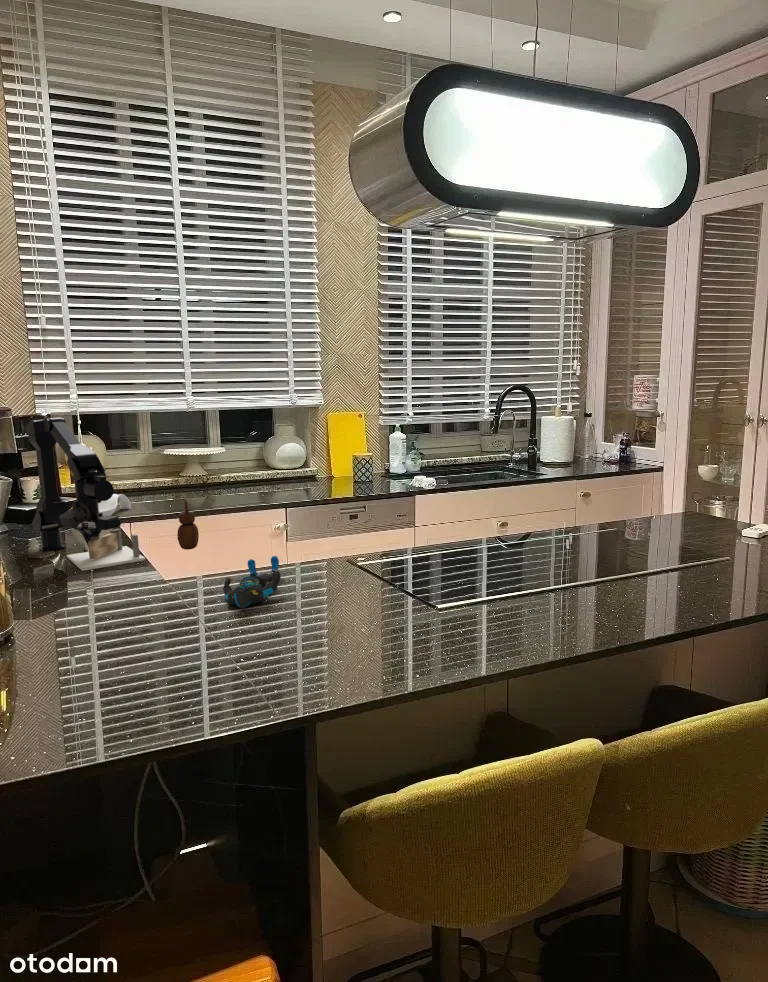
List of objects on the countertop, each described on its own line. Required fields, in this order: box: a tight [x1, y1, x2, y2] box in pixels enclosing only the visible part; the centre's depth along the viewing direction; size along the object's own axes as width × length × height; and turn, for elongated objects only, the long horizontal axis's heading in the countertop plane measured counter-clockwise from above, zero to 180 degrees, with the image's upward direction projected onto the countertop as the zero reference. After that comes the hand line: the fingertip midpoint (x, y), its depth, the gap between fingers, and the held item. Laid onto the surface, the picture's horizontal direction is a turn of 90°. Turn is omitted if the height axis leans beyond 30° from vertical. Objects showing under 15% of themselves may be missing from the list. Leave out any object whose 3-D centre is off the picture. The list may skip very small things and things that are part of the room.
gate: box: [87, 528, 122, 559], centre depth 218 cm, size 14×2×6 cm, turn 167°
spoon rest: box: [98, 493, 132, 518], centre depth 287 cm, size 24×12×7 cm, turn 169°
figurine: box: [222, 555, 281, 609], centre depth 177 cm, size 13×6×30 cm
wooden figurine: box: [177, 500, 200, 551], centre depth 225 cm, size 7×6×15 cm
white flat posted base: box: [66, 531, 146, 572], centre depth 216 cm, size 19×17×7 cm
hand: (91, 549), depth 216 cm, fingers closed
